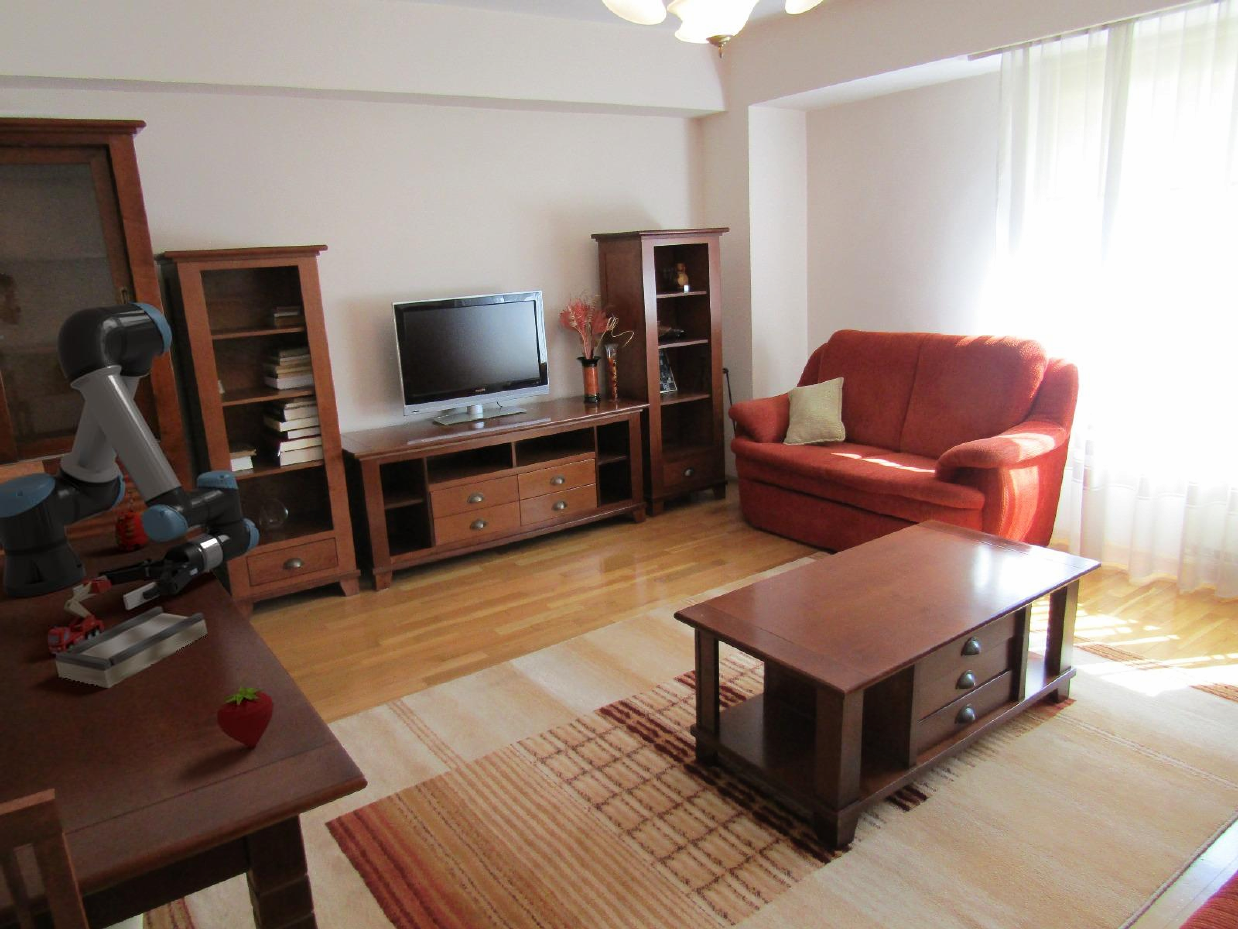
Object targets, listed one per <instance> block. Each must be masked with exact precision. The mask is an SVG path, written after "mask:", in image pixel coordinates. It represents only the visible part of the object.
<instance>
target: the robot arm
mask: <svg viewBox="0 0 1238 929" xmlns="http://www.w3.org/2000/svg"><path fill="white" fill-rule="evenodd" d="M172 340H173V338H172V331H171V327H170V325H169V324H168V322H167V319H166V317H165V315H163V313H162V312H161V311H160V310H159V309H158V308H156V307H154V306H153V305H151V304H150V303H149V304H148V303H145V302H125V303H124V304H118V305H108V306H99V307H98V306H97V307H87V308H81V309H80V310H76V311H75V312H73V313H72V314H70V315H69V316H68V317H67V318H66V319H65V320H64V322H63V323H62V324H61V326H60V328H59V330H58V334H57V340H56V352H57V358H58V362H59V365H60V368H61V371H62V373H63V376H64V377H65V379H66V380H67V382H68V384H69V385H70V387H71V388H72V389H75V390H78V391H80V393H81V395H82V397H83V399H84V400H85V402H84V406H83V408H82V412H81V416H80V419H79V423H78V427H77V430H76V433H75V438H74V441H73V444H72V448H71V452H68V453H66V454H64V455H63V456H62V457H61V459H60V462H59V466H58V469H57V472H56V473H55V474H53V475H52V474H50V473H46V472H36V473H35V472H34V473H30V474H25V475H24V476H17V477H15V478H12V479H9V480H7V481H5V482H2V483H1V484H0V541H1V544H2V547H3V552H4V555H5V561H4V566H3V567H4V569H3V577H2V588H3V592H4V595H5V596H8V597H12V598H13V597H14V598H25V597H26V598H27V597H35V596H39V595H45V594H46V595H47V594H49V593H54V592H57V591H59V590H64V589H65V588H69V587H71V586H73V585H75V584H77V583H79V582H81V581H82V580H84V578H86V575H87V573H86V570H85V566H84V563H83V562H82V560H81V559H80V557H79V556H78V554H77V553H76V552H75V550H74V549H73V548H72V546H71V544H70V543H69V538H68V534H67V529H66V528H67V527H70V526H72V525H75V524H78V523H82V522H83V521H86V520H89V519H91V518H95V517H97V516H101V515H103V514H106V513H107V512H109V511H110V510H113V509H114V508H116V507H117V506H118V505H119V504H120V503H121V501H122V500H123V499H124V496H125V491H126V482H125V481H123V479H124V476H123V474H122V471H121V469H120V466H119V465H118V463H117V462H116V458H118V460H119V461H120V463H121V464H122V466H123V468H124V470H125V472H126V473H127V475H128V477H129V479H130V480H131V482H132V485H134V486H133V487H135V490H137V492H138V494H139V496H140V497H141V499H142V501H143V503H144V505H145V507H146V509H145V510H144V512H143V513H142V515H141V518H142V519H141V521H142V522H143V526H142V527H143V529H144V531H145V533H146V534H147V535H148V536H149V539H152V540H153V541H156V542H159V543H160V542H161V543H165V542H169V541H172V540H174V539H178V538H180V537H183V536H185V535H186V534H188V533H190V532H192V531H194V530H196V529H198V528H201V527H203V526H204V525H205V526H206V529H207V531H206V532H205V533H201V534H199V535H196V536H194V537H192V538H189V539H186V541H183V542H181V543H178V544H176V545H174V546H171V547H169V548H168V549H167V550H166V552H165V554H164V557H163V558H158V559H154V561H152V558H151V557H150V558H149V557H148V558H145V559H142V560H140V561H136V562H132V563H129V564H128V563H127V564H125V565H120V566H117V567H114V568H109V569H106V570H102V571H98V572H97V574H98V577H96V578H95V579H109V580H110V583H111V586H112V587H113V586H118V585H119V586H120V585H123V584H129V583H133V582H138V581H143V582H149V583H148V584H146V585H144V586H141V587H139V588H138V589H135V590H133V591H131V592H127V593H126V594H124V595H123V596H122V598H123V602H124V605H125V606H124V607H125V610H128V611H129V610H132V609H133V608H135V607H138V606H140V605H142V604H145V603H147V602H148V601H150V600H153V599H155V598H157V597H159V596H166V595H167V594H168V593H169V595H170V596H174V595H177V593H179V592H180V591H181V590H182V589H183V588H184V587H185V586H186V585H187V584H188V583H189V582H190V581H191V580H193V579H195V578H197V577H198V576H199V575H202V574H204V573H210V571H211V569H214V568H216V567H219V566H221V565H222V564H225V563H227V562H230V561H232V560H234V559H236V558H239V557H242V556H244V555H245V554H246V553H249V552H250V551H252V550H253V549H255V548H256V547H257V545H258V543H259V541H260V540H259V539H260V534H259V530H258V528H257V527H256V524H255V523H254V522H253V521H252V520H251V519H248V518H244V516H243V510H242V504H241V498H240V493H239V487H238V484H237V479H236V476H235V474H234V472H232V471H231V470H227V469H222V470H221V469H220V470H212V471H207V472H204V473H201V474H199V476H198V477H197V478H196V487H197V488H195V489H193V490H190V491H188V492H186V490H185V489H184V488H183V486H182V484H181V483H180V481H179V479H178V477H177V475H176V473H175V472H174V470H173V468H172V466H171V465H170V463H169V461H168V459H167V458H166V455H165V454H164V452H163V450H162V449H161V447H160V445H159V443H158V442H157V440H156V437H155V436H154V434H153V431H151V429H150V427H149V425H148V423H147V422H146V420H145V418H144V417H143V414H142V412H141V411H140V409H139V407H138V406H137V404H136V402H135V400H134V398H135V396H136V392H137V390H138V386H139V382H140V379H141V378H144V377H146V376H148V375H149V374H150V372H151V370H152V366H153V363H154V360H155V357H160V356H163V355H164V354H165V353H167V352H168V351H169V349H170V347H171V345H172ZM147 574H148V575H147ZM154 580H156V582H155V581H154ZM150 581H153V582H151V583H150ZM157 584H158V585H157ZM83 588H84V586H83V583H82V584H80V585H77V586H75V587H73V588H72V593H73V597H74V596H75V595H76V594H77V593H79V592H80V591H81V590H82V589H83ZM95 595H97V594H86V595H85V596H84V597H83V598H82V599H81V600H80V601H79V602H81V601H84V600H86V599H88V598H90V597H93V596H95Z"/></svg>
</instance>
